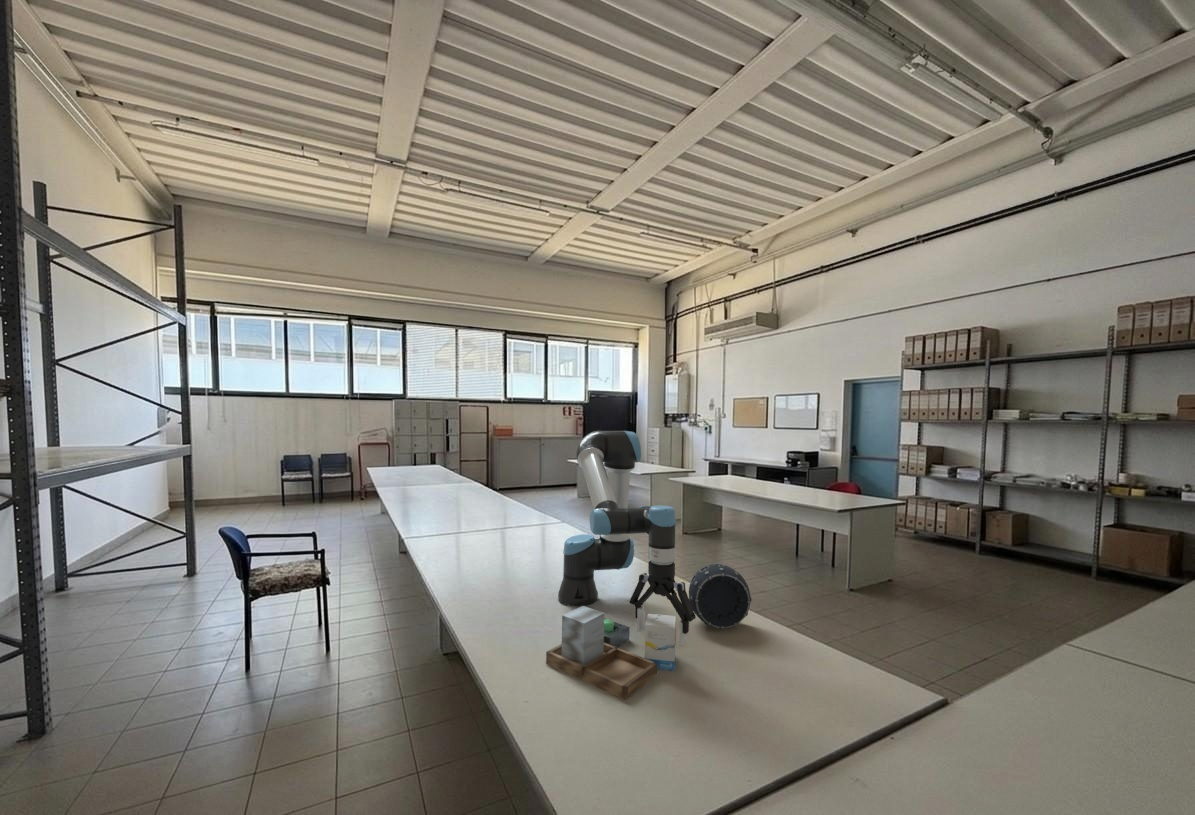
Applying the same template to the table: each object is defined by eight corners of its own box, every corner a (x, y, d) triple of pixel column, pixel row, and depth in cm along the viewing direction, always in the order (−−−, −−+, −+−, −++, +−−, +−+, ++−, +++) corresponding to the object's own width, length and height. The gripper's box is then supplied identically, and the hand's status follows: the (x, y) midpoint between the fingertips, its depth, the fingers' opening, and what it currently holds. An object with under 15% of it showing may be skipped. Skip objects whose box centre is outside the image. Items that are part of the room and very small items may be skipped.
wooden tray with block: (546, 662, 131) (547, 615, 131) (580, 643, 143) (581, 600, 143) (625, 700, 114) (626, 645, 114) (657, 674, 126) (658, 625, 126)
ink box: (674, 671, 128) (675, 628, 128) (643, 667, 129) (644, 624, 130) (675, 656, 136) (676, 615, 136) (646, 652, 138) (647, 612, 138)
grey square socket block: (584, 641, 144) (584, 628, 144) (603, 630, 152) (604, 618, 152) (610, 652, 138) (610, 638, 138) (629, 640, 145) (629, 627, 146)
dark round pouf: (753, 633, 151) (754, 571, 152) (691, 632, 152) (692, 569, 152) (744, 619, 162) (744, 561, 163) (686, 618, 163) (686, 560, 163)
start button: (597, 638, 144) (598, 622, 144) (605, 634, 147) (605, 618, 148) (608, 642, 142) (608, 626, 142) (615, 638, 145) (616, 621, 145)
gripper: (618, 556, 138) (617, 629, 137) (695, 573, 123) (695, 655, 122) (632, 551, 144) (631, 621, 143) (708, 566, 129) (707, 645, 128)
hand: (660, 637), depth 133 cm, fingers open, 13 cm apart
